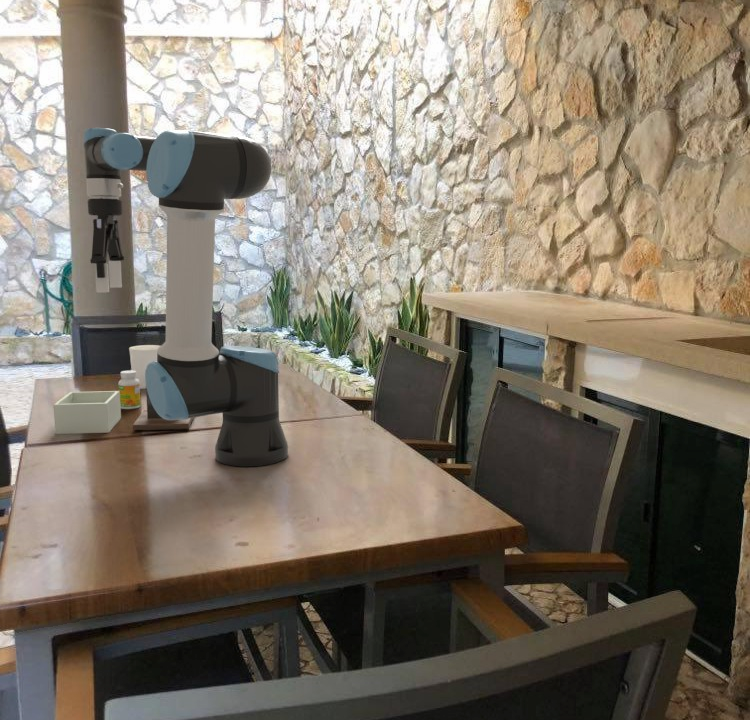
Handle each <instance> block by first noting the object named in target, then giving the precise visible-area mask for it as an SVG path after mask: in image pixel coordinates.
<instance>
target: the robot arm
mask: <svg viewBox="0 0 750 720" xmlns="http://www.w3.org/2000/svg"><path fill="white" fill-rule="evenodd" d="M83 137H84V138H83V148H84V164H85V176H86V178H85V180H86V196H87V197H89V198H88V200H87V213H88V215H89V216H97V218H94V219H93V220H92V223H93V233H92V245H91V246H92V249H91V258H90V263H91V264H94V274H95V277H94V278H95V291H96V292H95V293H110V289H112V288H113V289H114V288H115V289H117V288H120V289H121V288H123V282H122V262H121V261H125V256H124V255H123V251H122V245H121V238H120V232H119V225H118V223H119V222H118V219H115V218H114V216H115V217H116V216H117V217H119V216H123V201H122V200H121V199H119V198H121V197H122V189H123V188H124V184H123V183H122V182H121V179H122V178H121V171H134V172H135V171H136V172H145V176H146V177H145V178H146V181H147V187H148V190H149V193H150V194H151V195H153V197H156V198H157V199H158V208H160V209H161V210H162V211H163V212H164V213H165V215H166V283H165V284H166V285H165V290H166V291H165V341H164V342H163V343H162V344H161V345H159V346H160V347H159V348H158V350H157V361H153V362H151V363H149V364H148V365H147V369H146V371H145V381H146V387H147V392H148V395H149V398H150V401H151V403H152V405H153V407H154V409H155V411H156V412H157V413H158V415H159V416H160V417H162V418H163V419H166V420H179V419H183V420H187V419H188V418H193V419H194V418H199V417H206V416H212V415H218V414H222V424H221V427H220V430H219V433H218V437H217V441H216V444H215V448H214V449H215V450H214V454H215V455H214V456H215V457H214V458H215V460H216V461H217V462H219V463H221V464H224V465H226V466H233V467H260V466H261V467H262V466H267V465H272V464H276V463H279V462H282V461H284V460H285V459H287V457H289V445H288V441H287V438H286V436H285V433H284V429H283V427H282V425H281V421H280V405H279V402H280V399H279V397H280V395H279V390H280V389H279V388H280V387H279V374H280V370H279V361H278V356H277V355H276V353H275V352H274V351H272V350H270V349H265V348H260V347H251V346H243V345H241V346H239V345H225V346H221V347H220V350H219V349H218V348H217V347H216V346H215V345H214V344H213V342H212V337H213V336H212V335H213V331H212V329H213V302H214V301H213V299H214V273H215V272H214V269H215V267H214V266H215V264H214V263H215V237H216V231H215V230H216V219H217V217H218V216H220V215H221V213H223V212H224V210H225V207H224V206H225V200H241V199H243V200H244V199H247V198H251V197H254V196H255V195H257V194H258V193H260V192H261V191H262V190H263V189H264V188H265V187H266V186H267V184H268V182H269V181H270V178H271V175H272V162H271V158H270V156H269V154H268V152H267V150H266V149H265V148H264V147H263V145H261V144H260V143H259V142H257V141H256V140H254V139H252V138H249V137H246V136H243V135H236V134H223V133H214V132H205V131H204V132H203V131H202V132H201V131H194V130H188V129H185V130H184V129H182V130H181V129H179V130H177V129H176V130H175V129H173V130H172V129H169V130H164V131H163V132H160V133H159V134H158V135H157V136H156V137H153V136H144V135H142V136H141V135H133V134H131V133H128V132H118V131H116V130H115V129H112V128H107V127H106V128H104V127H92V128H87V129H85V130H84V133H83ZM108 257H109V260H108V263H107V258H108Z"/></svg>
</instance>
